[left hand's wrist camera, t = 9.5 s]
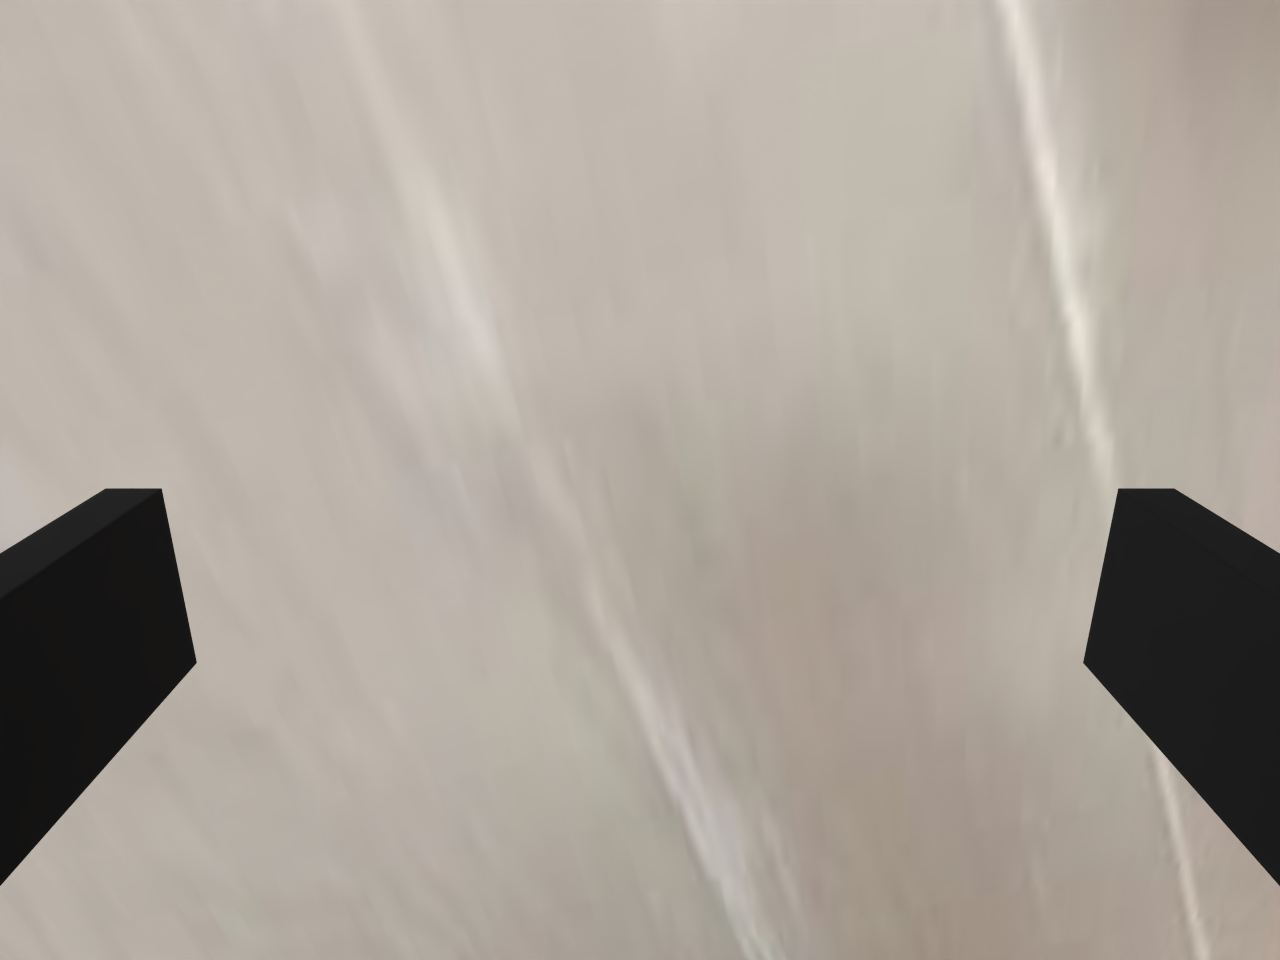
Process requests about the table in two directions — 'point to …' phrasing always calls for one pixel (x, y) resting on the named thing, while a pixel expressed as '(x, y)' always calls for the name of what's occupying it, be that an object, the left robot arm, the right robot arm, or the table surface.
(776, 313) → the table surface
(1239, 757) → the left robot arm
